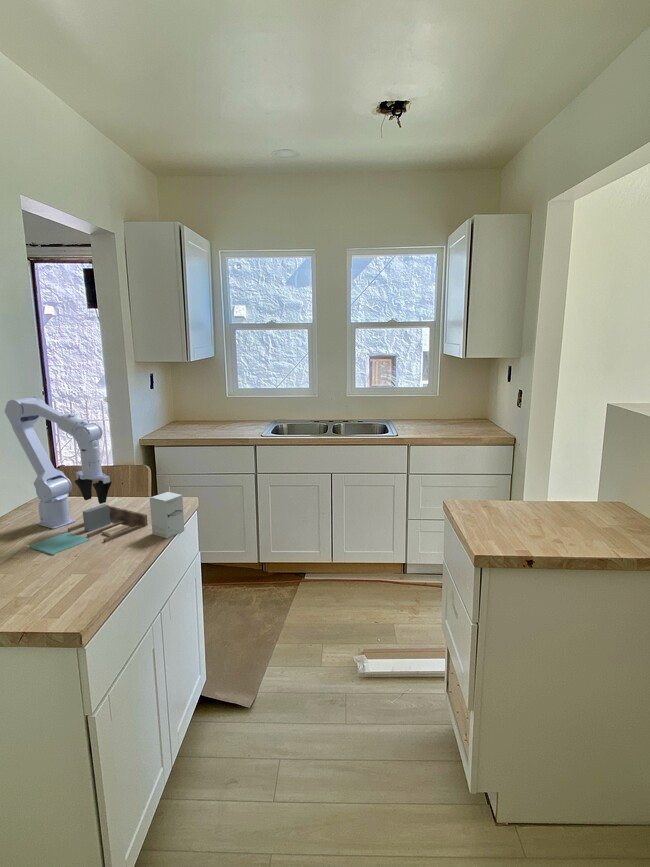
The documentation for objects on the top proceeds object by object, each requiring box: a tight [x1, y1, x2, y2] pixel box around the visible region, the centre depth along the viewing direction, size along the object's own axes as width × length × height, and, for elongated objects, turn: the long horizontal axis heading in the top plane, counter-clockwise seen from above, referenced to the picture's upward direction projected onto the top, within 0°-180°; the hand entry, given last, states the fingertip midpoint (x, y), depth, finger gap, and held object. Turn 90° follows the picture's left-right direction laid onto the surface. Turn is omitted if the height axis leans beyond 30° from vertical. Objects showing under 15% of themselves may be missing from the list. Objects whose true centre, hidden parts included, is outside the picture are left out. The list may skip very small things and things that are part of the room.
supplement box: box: [149, 491, 185, 539], centre depth 154 cm, size 7×7×13 cm
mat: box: [28, 531, 91, 556], centre depth 148 cm, size 12×12×1 cm
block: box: [82, 503, 112, 533], centre depth 160 cm, size 2×8×7 cm, turn 151°
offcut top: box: [101, 524, 131, 537], centre depth 156 cm, size 4×7×1 cm, turn 151°
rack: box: [67, 505, 149, 543], centre depth 159 cm, size 19×16×4 cm
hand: (95, 501), depth 159 cm, fingers open, 7 cm apart
